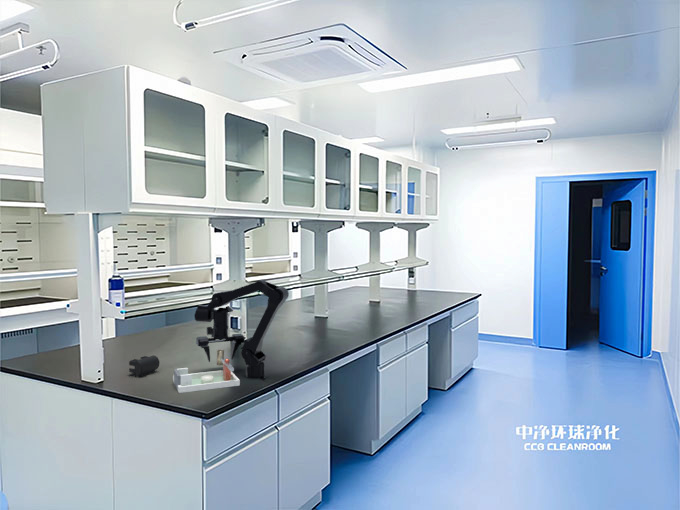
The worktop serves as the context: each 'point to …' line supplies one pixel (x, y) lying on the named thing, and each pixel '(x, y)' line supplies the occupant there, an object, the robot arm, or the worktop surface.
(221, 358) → the cylinder
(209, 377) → the puck
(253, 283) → the robot arm
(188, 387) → the pitch
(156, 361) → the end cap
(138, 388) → the worktop surface
